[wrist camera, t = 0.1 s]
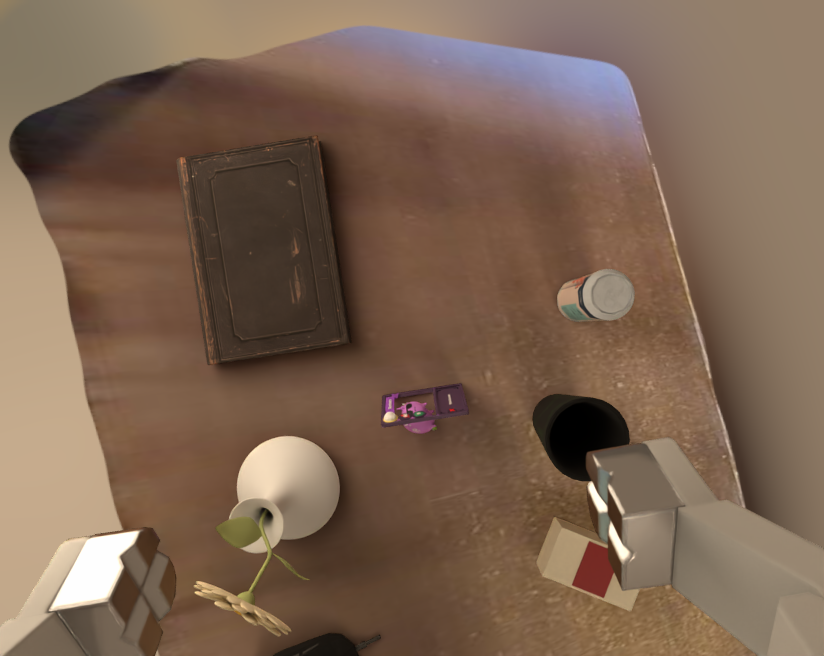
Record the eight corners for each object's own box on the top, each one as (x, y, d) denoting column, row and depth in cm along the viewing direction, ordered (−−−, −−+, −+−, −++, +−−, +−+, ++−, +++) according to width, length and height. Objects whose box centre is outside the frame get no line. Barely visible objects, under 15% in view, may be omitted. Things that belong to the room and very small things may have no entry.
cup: (606, 416, 64) (647, 437, 52) (560, 467, 65) (591, 499, 53) (554, 370, 65) (584, 380, 53) (509, 421, 65) (528, 442, 53)
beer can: (602, 283, 65) (643, 273, 53) (594, 325, 65) (632, 324, 53) (560, 275, 65) (591, 263, 53) (552, 317, 65) (580, 314, 53)
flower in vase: (221, 478, 65) (95, 571, 40) (296, 412, 65) (216, 465, 40) (296, 565, 65) (216, 713, 40) (372, 500, 65) (339, 607, 40)
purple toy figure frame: (467, 404, 58) (379, 418, 58) (473, 449, 60) (388, 462, 60) (460, 377, 64) (381, 389, 65) (466, 418, 66) (388, 430, 66)
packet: (638, 549, 64) (651, 562, 61) (619, 596, 64) (631, 612, 61) (554, 516, 65) (561, 527, 61) (535, 562, 65) (542, 576, 61)
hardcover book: (320, 142, 65) (317, 135, 63) (351, 343, 65) (349, 343, 63) (182, 164, 66) (173, 158, 63) (213, 364, 66) (205, 365, 63)
